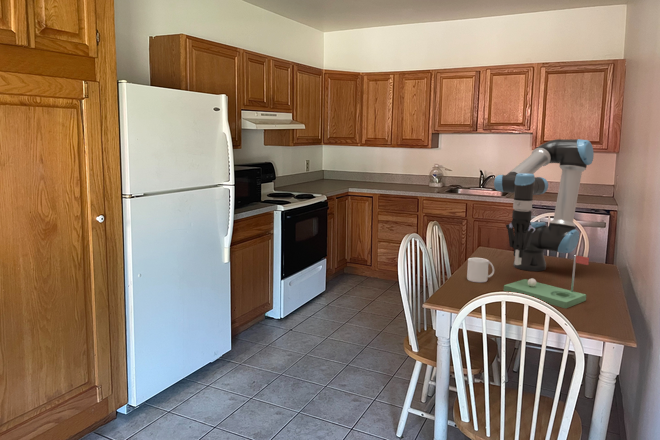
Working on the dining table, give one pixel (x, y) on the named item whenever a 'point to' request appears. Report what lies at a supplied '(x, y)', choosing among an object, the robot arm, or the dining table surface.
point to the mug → (478, 269)
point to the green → (547, 293)
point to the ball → (532, 282)
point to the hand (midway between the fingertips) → (517, 264)
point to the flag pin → (576, 260)
